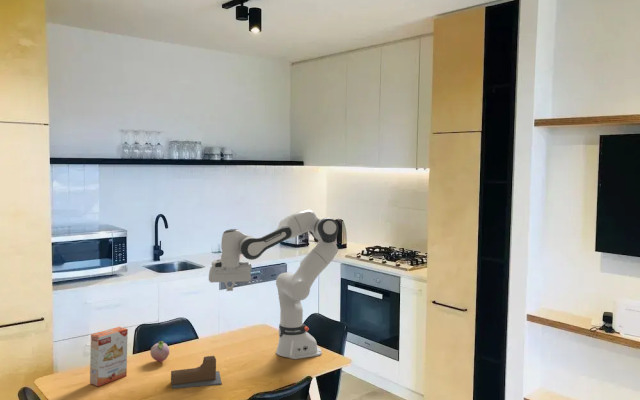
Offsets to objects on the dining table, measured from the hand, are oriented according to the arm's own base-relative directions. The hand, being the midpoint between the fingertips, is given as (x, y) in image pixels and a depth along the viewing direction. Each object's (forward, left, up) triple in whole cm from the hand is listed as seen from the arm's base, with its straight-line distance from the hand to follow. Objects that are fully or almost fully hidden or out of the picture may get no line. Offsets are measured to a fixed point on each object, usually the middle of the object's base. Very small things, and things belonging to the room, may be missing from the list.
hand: (229, 290), depth 246 cm
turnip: (+32, +5, -31) cm, 45 cm away
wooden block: (+9, +29, -26) cm, 40 cm away
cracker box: (+52, +21, -31) cm, 64 cm away
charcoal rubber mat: (+16, +29, -31) cm, 46 cm away
